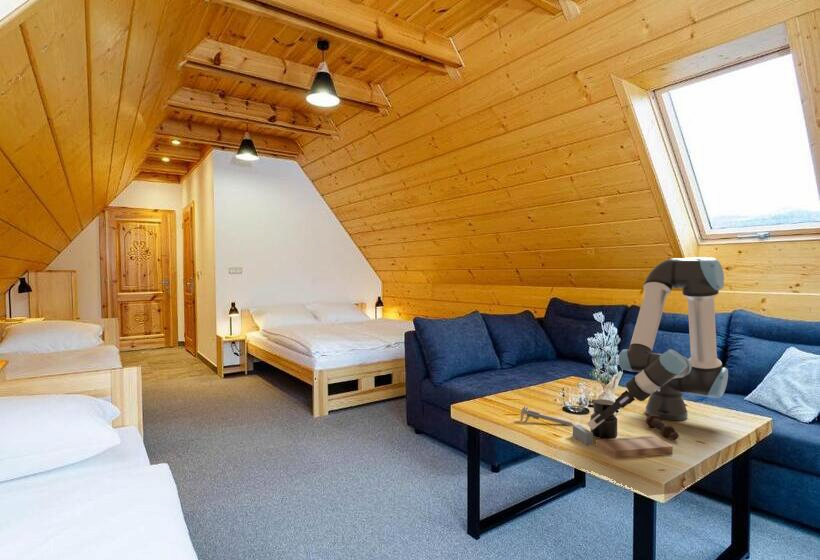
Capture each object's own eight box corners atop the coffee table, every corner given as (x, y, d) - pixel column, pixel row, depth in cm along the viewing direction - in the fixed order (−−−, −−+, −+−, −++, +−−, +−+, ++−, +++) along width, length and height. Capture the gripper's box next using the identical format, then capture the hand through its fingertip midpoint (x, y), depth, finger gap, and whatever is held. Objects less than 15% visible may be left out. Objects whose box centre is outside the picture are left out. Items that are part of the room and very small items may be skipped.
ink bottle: (618, 433, 171) (618, 400, 170) (618, 441, 163) (618, 406, 162) (589, 429, 175) (589, 397, 174) (588, 437, 167) (588, 403, 166)
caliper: (520, 421, 188) (520, 406, 188) (520, 420, 190) (520, 405, 189) (575, 426, 182) (575, 410, 182) (575, 425, 183) (575, 409, 183)
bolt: (672, 447, 166) (650, 430, 181) (685, 439, 166) (662, 424, 181) (664, 432, 166) (643, 417, 180) (677, 425, 165) (655, 411, 180)
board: (651, 442, 165) (651, 435, 165) (672, 453, 155) (672, 446, 155) (596, 446, 161) (596, 439, 161) (613, 458, 151) (613, 450, 151)
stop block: (579, 435, 172) (579, 424, 172) (592, 444, 163) (592, 433, 163) (572, 436, 172) (572, 425, 172) (586, 445, 163) (586, 433, 163)
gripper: (642, 402, 150) (591, 440, 161) (659, 388, 167) (611, 424, 177) (625, 382, 153) (575, 421, 164) (642, 371, 170) (597, 407, 181)
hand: (594, 423), depth 171 cm, fingers closed on ink bottle, 9 cm apart
